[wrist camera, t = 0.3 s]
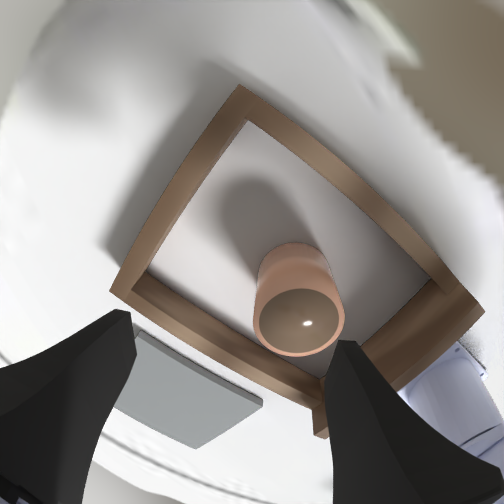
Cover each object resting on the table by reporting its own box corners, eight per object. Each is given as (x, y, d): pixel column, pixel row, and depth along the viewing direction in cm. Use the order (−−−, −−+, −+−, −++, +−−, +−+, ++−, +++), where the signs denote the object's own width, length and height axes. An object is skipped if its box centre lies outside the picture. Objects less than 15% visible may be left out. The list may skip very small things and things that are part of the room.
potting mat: (263, 399, 24) (262, 406, 24) (197, 443, 29) (195, 449, 28) (140, 329, 22) (137, 335, 21) (101, 392, 26) (98, 397, 26)
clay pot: (344, 270, 19) (363, 315, 14) (297, 317, 20) (302, 368, 16) (289, 227, 18) (294, 265, 13) (243, 281, 20) (234, 329, 15)
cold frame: (450, 274, 18) (485, 311, 14) (319, 392, 23) (324, 439, 19) (244, 89, 15) (232, 75, 10) (124, 273, 20) (90, 312, 15)
